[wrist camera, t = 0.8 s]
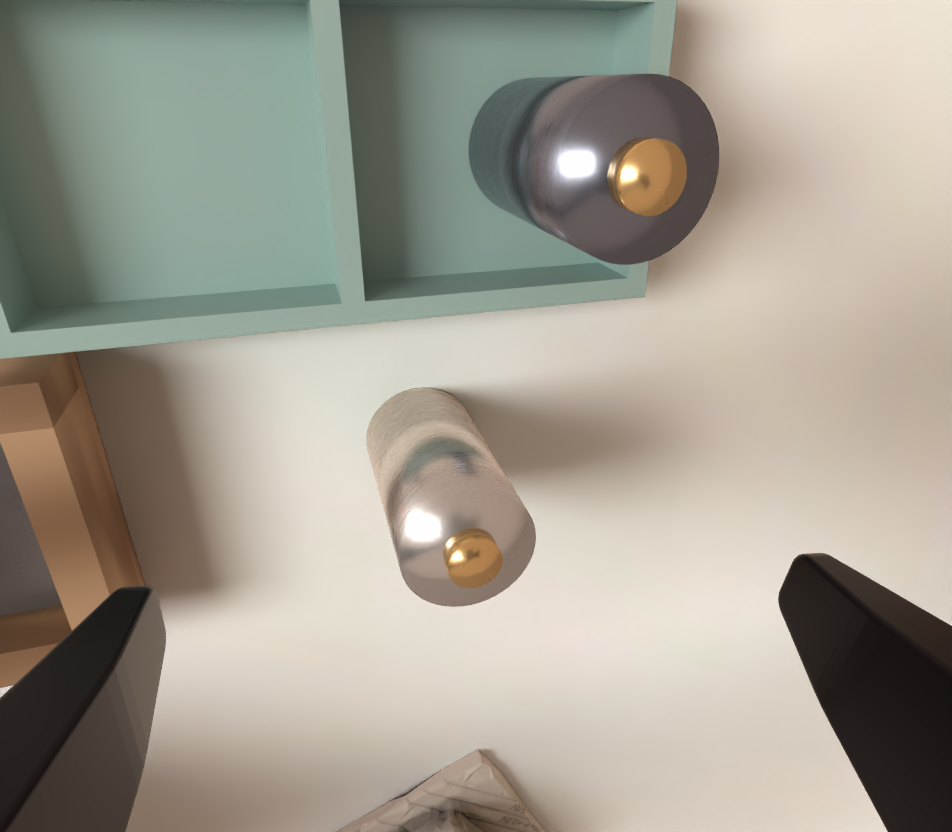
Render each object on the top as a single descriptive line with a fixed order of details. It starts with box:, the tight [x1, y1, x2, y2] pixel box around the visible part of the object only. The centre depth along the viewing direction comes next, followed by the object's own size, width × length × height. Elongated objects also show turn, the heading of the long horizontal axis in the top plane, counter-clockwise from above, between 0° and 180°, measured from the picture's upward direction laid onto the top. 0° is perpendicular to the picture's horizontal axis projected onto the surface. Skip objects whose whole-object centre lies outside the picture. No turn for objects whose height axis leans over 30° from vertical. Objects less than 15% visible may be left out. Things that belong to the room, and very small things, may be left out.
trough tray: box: [0, 0, 677, 359], centre depth 17 cm, size 8×17×2 cm, turn 90°
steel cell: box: [367, 388, 536, 607], centre depth 19 cm, size 4×4×7 cm
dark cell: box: [469, 74, 719, 265], centre depth 16 cm, size 4×4×7 cm
